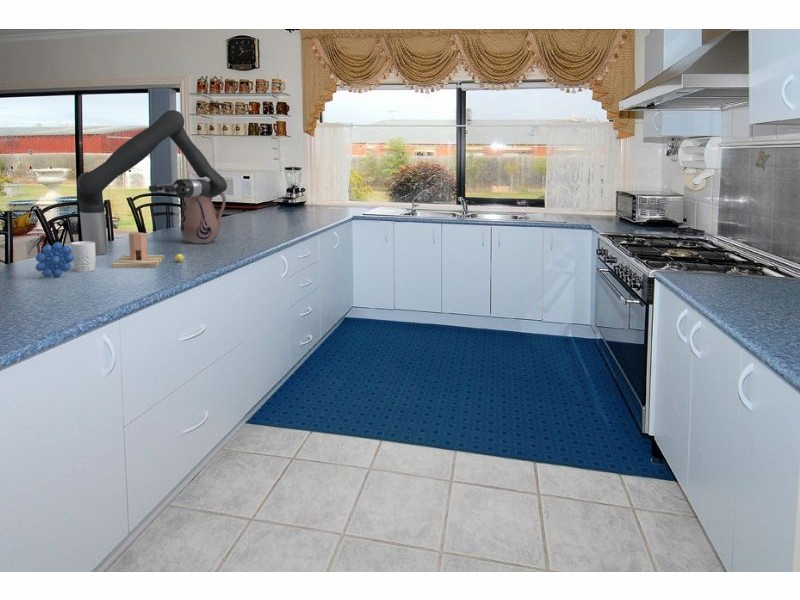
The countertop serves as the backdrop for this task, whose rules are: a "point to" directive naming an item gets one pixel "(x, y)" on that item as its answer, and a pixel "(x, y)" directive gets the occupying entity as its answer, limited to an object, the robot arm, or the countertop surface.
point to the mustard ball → (179, 257)
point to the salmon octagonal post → (138, 246)
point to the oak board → (138, 262)
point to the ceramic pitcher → (201, 219)
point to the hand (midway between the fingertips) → (157, 189)
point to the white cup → (84, 256)
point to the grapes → (54, 260)
